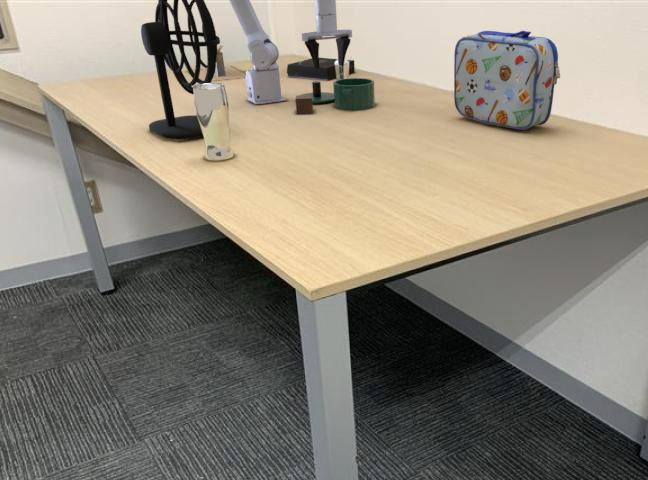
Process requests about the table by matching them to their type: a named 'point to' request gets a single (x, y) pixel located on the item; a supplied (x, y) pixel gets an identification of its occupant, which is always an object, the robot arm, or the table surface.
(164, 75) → the desk fan
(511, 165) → the table surface
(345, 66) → the milkshake
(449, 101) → the table surface
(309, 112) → the block
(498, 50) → the lunch box
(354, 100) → the tin
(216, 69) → the architectural model on board
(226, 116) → the beer glass
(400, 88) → the table surface
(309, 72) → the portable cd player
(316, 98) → the lid
